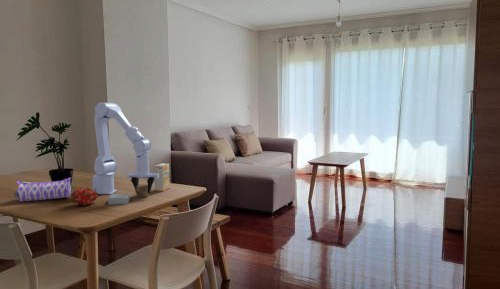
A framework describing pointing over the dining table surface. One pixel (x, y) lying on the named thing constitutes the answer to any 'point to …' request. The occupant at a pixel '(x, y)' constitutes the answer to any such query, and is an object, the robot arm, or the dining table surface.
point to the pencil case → (43, 190)
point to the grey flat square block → (119, 199)
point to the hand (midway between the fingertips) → (143, 193)
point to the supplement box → (162, 177)
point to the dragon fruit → (83, 196)
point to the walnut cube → (142, 191)
